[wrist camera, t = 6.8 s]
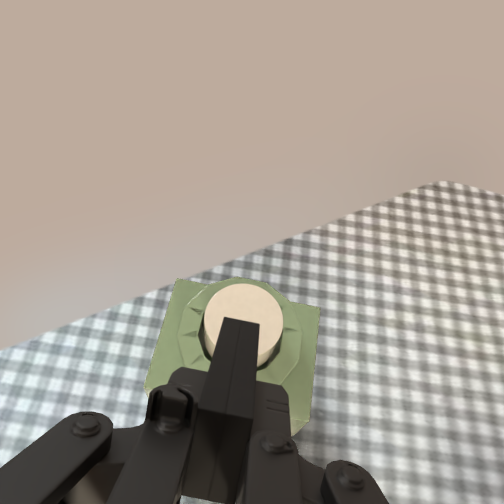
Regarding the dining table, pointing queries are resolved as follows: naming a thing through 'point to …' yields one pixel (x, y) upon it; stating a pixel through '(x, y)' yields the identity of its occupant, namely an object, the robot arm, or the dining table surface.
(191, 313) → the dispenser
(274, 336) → the beige short cylinder
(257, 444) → the robot arm
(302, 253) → the dining table surface
